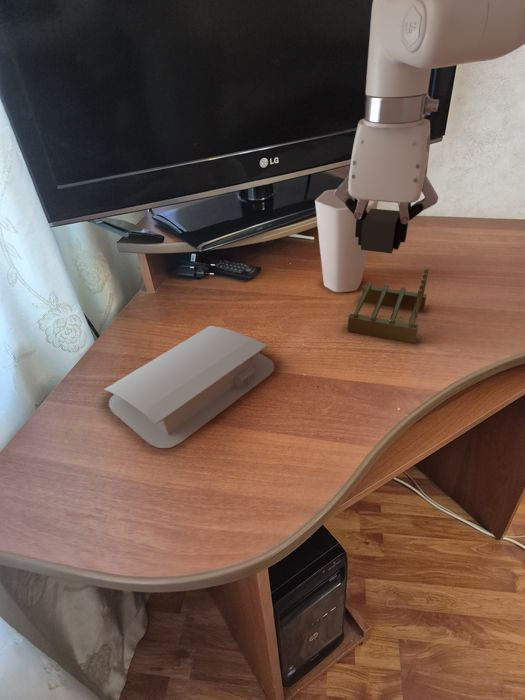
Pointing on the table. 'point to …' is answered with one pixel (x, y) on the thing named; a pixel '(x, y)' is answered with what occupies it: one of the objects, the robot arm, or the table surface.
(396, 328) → the rack
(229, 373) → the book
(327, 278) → the cup
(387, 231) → the box
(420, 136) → the robot arm
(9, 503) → the table surface
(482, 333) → the table surface
